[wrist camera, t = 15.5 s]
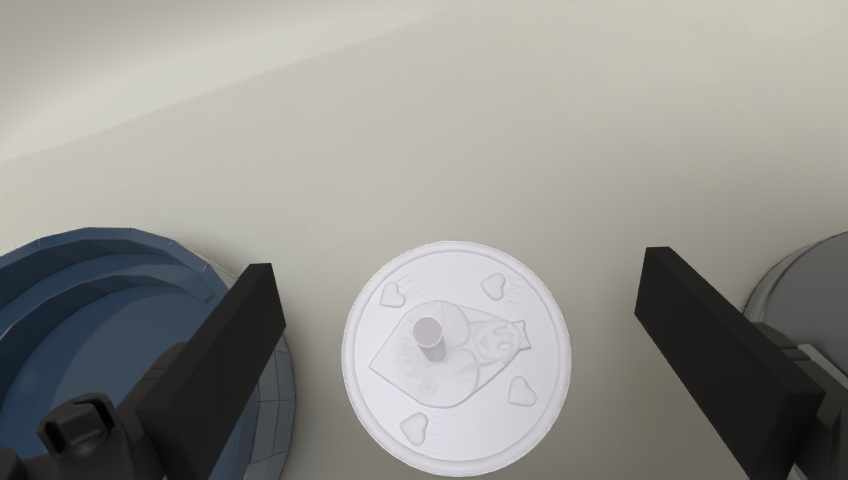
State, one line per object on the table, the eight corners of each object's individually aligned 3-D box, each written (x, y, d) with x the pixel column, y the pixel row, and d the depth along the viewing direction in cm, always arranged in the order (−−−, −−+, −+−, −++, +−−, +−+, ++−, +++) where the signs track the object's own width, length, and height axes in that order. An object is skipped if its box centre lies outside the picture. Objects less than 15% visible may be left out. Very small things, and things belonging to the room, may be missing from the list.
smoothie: (376, 315, 22) (267, 199, 9) (500, 289, 22) (578, 137, 9) (398, 452, 20) (297, 575, 7) (535, 424, 20) (707, 488, 7)
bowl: (366, 426, 20) (344, 435, 16) (58, 727, 17) (-70, 837, 13) (183, 200, 25) (128, 160, 20) (-87, 407, 22) (-217, 411, 17)
